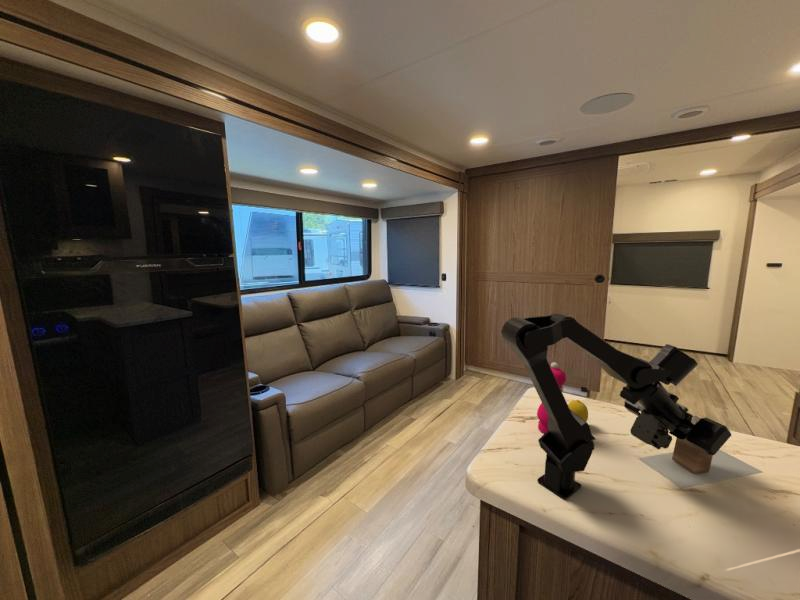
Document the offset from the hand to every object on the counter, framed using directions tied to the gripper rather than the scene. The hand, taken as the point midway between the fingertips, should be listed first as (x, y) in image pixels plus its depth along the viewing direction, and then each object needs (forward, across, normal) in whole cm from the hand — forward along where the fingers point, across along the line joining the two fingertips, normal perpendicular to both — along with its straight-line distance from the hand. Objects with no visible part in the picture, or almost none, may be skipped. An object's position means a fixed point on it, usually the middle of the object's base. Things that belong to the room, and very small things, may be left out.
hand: (688, 438), depth 72 cm
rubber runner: (+8, 0, -3) cm, 9 cm away
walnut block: (+6, 0, -4) cm, 7 cm away
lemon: (-2, -21, -14) cm, 25 cm away
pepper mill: (-8, -21, -19) cm, 30 cm away
